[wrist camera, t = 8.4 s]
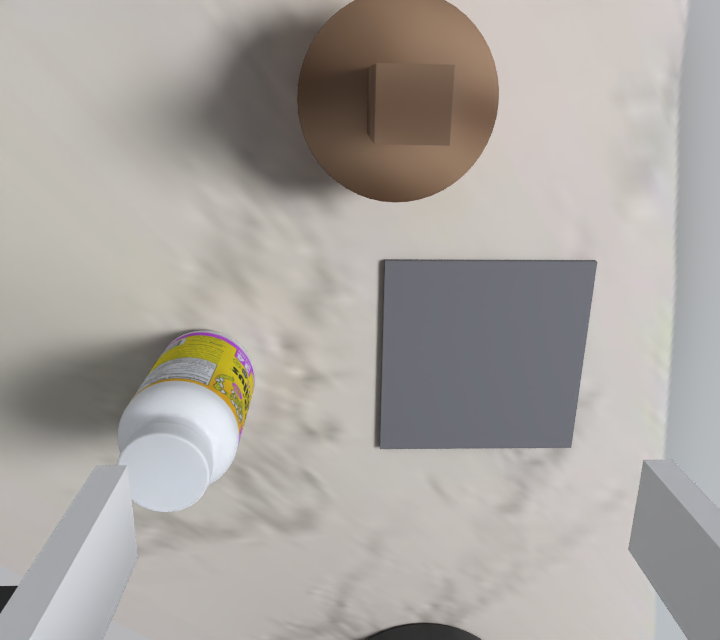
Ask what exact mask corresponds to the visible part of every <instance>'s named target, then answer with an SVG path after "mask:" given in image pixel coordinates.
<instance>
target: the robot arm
mask: <svg viewBox="0 0 720 640" xmlns="http://www.w3.org/2000/svg"><path fill="white" fill-rule="evenodd" d="M628 550H629V551H630V553H631V554H632V556H633V557H634V559H635V560H636V562H637V563H638V565H639V566H640V568H641V569H642V571H643V572H644V574H645V575H646V577H647V578H648V580H649V581H650V583H651V585H652V586H653V588H654V589H655V591H656V592H657V594H658V595H659V597H660V598H661V600H662V601H663V602H664V604H665V605H666V607H667V609H668V610H669V612H670V613H671V615H672V616H673V618H674V619H675V621H676V622H677V624H678V625H679V627H680V628H681V630H682V631H683V633H684V634H685V636H686V637H687V639H688V640H720V509H719V508H718V507H717V506H716V505H715V504H714V503H713V502H712V501H711V500H710V499H709V497H708V496H707V495H706V494H705V493H704V492H703V491H702V490H701V489H700V488H699V487H698V486H697V485H696V484H695V483H694V482H693V481H692V480H691V479H690V478H689V477H688V475H687V474H686V473H685V472H684V471H683V470H682V469H681V468H680V467H679V466H678V465H677V464H676V463H675V462H674V461H673V460H643V466H642V472H641V478H640V484H639V490H638V496H637V502H636V507H635V513H634V519H633V525H632V531H631V537H630V543H629V549H628ZM137 559H138V553H137V544H136V536H135V527H134V518H133V509H132V501H131V492H130V483H129V475H128V466H127V465H114V466H96V467H95V468H94V470H93V471H92V473H91V475H90V476H89V478H88V479H87V481H86V482H85V484H84V485H83V487H82V488H81V490H80V492H79V493H78V495H77V496H76V498H75V499H74V501H73V502H72V504H71V505H70V507H69V509H68V510H67V512H66V513H65V515H64V516H63V518H62V519H61V521H60V522H59V524H58V525H57V527H56V529H55V530H54V532H53V533H52V535H51V536H50V538H49V539H48V541H47V542H46V544H45V546H44V547H43V549H42V550H41V552H40V553H39V555H38V556H37V558H36V559H35V561H34V563H33V564H32V566H31V567H30V569H29V570H28V572H27V573H26V575H25V576H24V578H23V580H22V581H21V583H20V584H19V586H0V640H103V638H104V636H105V634H106V631H107V629H108V627H109V624H110V622H111V620H112V617H113V615H114V613H115V610H116V608H117V606H118V603H119V601H120V599H121V596H122V594H123V591H124V589H125V587H126V584H127V582H128V580H129V577H130V575H131V573H132V570H133V568H134V566H135V563H136V561H137ZM368 640H481V639H480V638H478V637H476V636H475V635H473V634H471V633H468V632H466V631H464V630H461V629H458V628H454V627H450V626H445V625H437V624H416V625H408V626H402V627H398V628H394V629H391V630H388V631H385V632H382V633H380V634H378V635H376V636H374V637H372V638H370V639H368Z"/></svg>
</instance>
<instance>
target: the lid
mask: <svg viewBox="0 0 720 640" xmlns="http://www.w3.org/2000/svg"><path fill="white" fill-rule="evenodd" d="M297 101H298V114H299V119H300V124H301V128H302V131H303V134H304V137H305V140H306V142H307V144H308V146H309V148H310V150H311V152H312V154H313V155H314V157H315V158H316V160H317V161H318V163H319V164H320V165H321V166H322V167H323V169H324V170H325V171H326V172H327V173H328V174H329V175H330V176H331V177H332V178H333V179H334V180H336V181H337V182H338V183H340V184H341V185H342V186H344V187H345V188H347V189H349V190H351V191H353V192H354V193H356V194H358V195H361V196H364V197H367V198H370V199H374V200H379V201H385V202H408V201H413V200H419V199H422V198H425V197H428V196H431V195H434V194H436V193H438V192H440V191H442V190H444V189H446V188H447V187H449V186H450V185H452V184H453V183H455V182H456V181H457V180H458V179H460V178H461V177H462V176H463V175H464V174H465V173H466V172H467V171H468V170H469V169H470V168H471V167H472V166H473V165H474V163H475V162H476V161H477V159H478V158H479V156H480V155H481V154H482V152H483V150H484V148H485V146H486V145H487V143H488V140H489V138H490V136H491V133H492V131H493V127H494V124H495V120H496V116H497V110H498V101H499V86H498V76H497V71H496V67H495V63H494V60H493V57H492V54H491V52H490V49H489V47H488V45H487V43H486V41H485V39H484V37H483V36H482V34H481V33H480V31H479V30H478V29H477V27H476V26H475V25H474V23H473V22H472V21H471V20H470V19H469V18H468V17H467V16H466V15H465V14H464V13H462V12H461V11H460V10H459V9H458V8H456V7H455V6H454V5H452V4H450V3H448V2H447V1H445V0H355V1H353V2H351V3H349V4H348V5H346V6H345V7H344V8H342V9H341V10H339V11H338V12H337V13H336V14H335V15H334V16H332V17H331V18H330V19H329V20H328V21H327V22H326V24H325V25H324V26H323V27H322V28H321V30H320V31H319V32H318V34H317V35H316V37H315V38H314V40H313V42H312V43H311V45H310V47H309V49H308V52H307V54H306V56H305V58H304V62H303V65H302V68H301V71H300V77H299V83H298V96H297Z"/></svg>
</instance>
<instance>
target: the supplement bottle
mask: <svg viewBox="0 0 720 640" xmlns="http://www.w3.org/2000/svg"><path fill="white" fill-rule="evenodd" d="M254 384H255V371H254V366H253V363H252V360H251V358H250V356H249V355H248V353H247V352H246V350H245V349H244V348H243V347H242V346H241V345H240V344H239V343H238V342H237V341H236V340H234V339H233V338H231V337H229V336H227V335H225V334H223V333H220V332H216V331H210V330H200V331H193V332H189V333H186V334H183V335H181V336H179V337H178V338H176V339H175V340H173V341H172V342H171V343H170V344H169V345H168V346H167V347H166V348H165V350H164V351H163V352H162V354H161V355H160V357H159V358H158V360H157V361H156V363H155V364H154V366H153V367H152V369H151V371H150V372H149V374H148V375H147V377H146V378H145V380H144V382H143V383H142V385H141V386H140V388H139V389H138V391H137V392H136V394H135V395H134V397H133V398H132V400H131V401H130V403H129V404H128V406H127V407H126V409H125V411H124V412H123V415H122V417H121V420H120V423H119V427H118V445H119V450H120V453H121V454H120V456H119V459H118V462H117V465H127V466H128V475H129V483H130V492H131V500H132V501H134V502H135V503H136V504H138V505H140V506H142V507H144V508H146V509H149V510H153V511H158V512H173V511H178V510H182V509H185V508H187V507H189V506H191V505H193V504H194V503H195V502H197V501H198V500H199V499H200V498H201V497H202V495H203V494H204V492H205V491H206V489H207V487H208V485H210V484H211V483H213V482H215V481H216V480H217V479H219V478H220V477H221V476H222V475H223V474H224V473H225V472H226V471H227V469H228V468H229V467H230V465H231V464H232V462H233V460H234V458H235V455H236V452H237V448H238V444H239V440H240V437H241V433H242V430H243V426H244V423H245V419H246V415H247V412H248V408H249V405H250V401H251V397H252V393H253V389H254Z"/></svg>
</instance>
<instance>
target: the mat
mask: <svg viewBox="0 0 720 640" xmlns="http://www.w3.org/2000/svg"><path fill="white" fill-rule="evenodd" d="M596 266H597V261H595V260H385V268H384V306H383V343H382V380H381V417H380V449H455V448H571V445H572V437H573V430H574V423H575V416H576V409H577V402H578V395H579V388H580V380H581V373H582V366H583V359H584V352H585V345H586V338H587V331H588V323H589V316H590V309H591V302H592V295H593V288H594V281H595V274H596Z"/></svg>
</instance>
